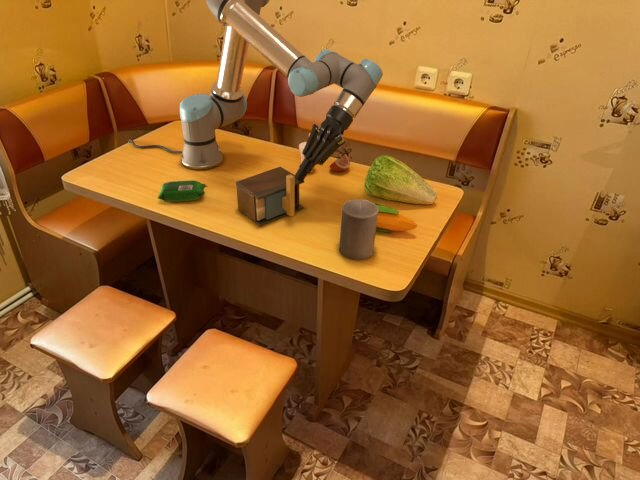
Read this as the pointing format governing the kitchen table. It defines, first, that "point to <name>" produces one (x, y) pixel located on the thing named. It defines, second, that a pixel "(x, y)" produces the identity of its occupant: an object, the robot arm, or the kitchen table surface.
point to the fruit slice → (341, 163)
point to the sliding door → (281, 200)
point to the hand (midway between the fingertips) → (297, 180)
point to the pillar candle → (358, 229)
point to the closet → (263, 193)
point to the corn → (392, 220)
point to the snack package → (181, 191)
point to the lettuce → (397, 182)
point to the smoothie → (301, 147)
